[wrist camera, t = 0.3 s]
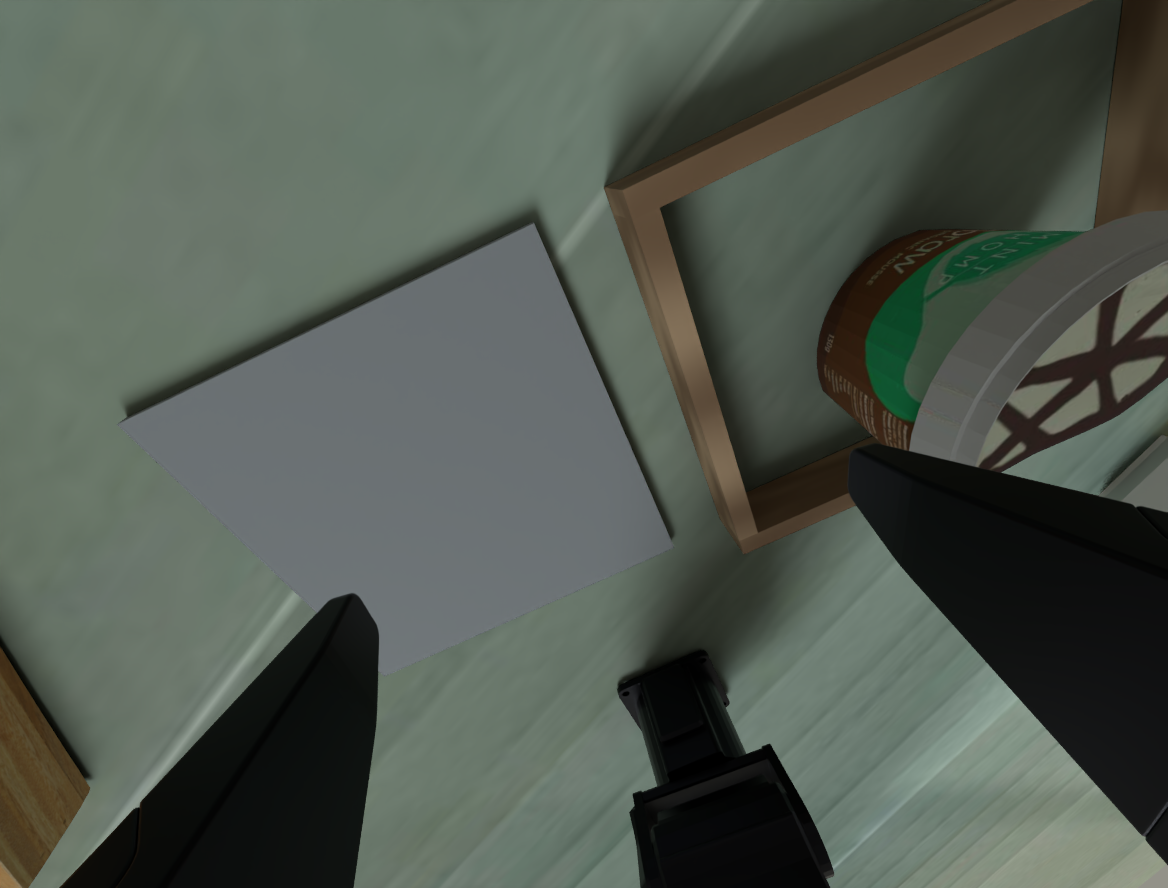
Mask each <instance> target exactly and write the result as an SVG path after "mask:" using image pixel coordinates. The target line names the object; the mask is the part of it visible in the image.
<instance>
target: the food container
mask: <svg viewBox="0 0 1168 888" xmlns="http://www.w3.org/2000/svg"><path fill="white" fill-rule="evenodd" d="M817 369H818V376H819V380H820V383H821V386H822V389H823V391H824V392H825V393H826V394H827V395H828V396H829V397H831V398H832V399H833V400H834V401H835V402H836V403H837V404H838V405H839V406H841V407H842V408H843V409H844V410H845V411H846V412H847V413H848V414H849V415H851V416H852V417H853V418H854V419H855V420H856V421H857V422H858V423H859V424H861V425H862V426H863V427H864V428H865V429H866V430H867V431H868V432H869V433H871V434H872V435H873V436H874V437H875V438H876V439H877V440H878V441H879V442H881V443H882V444H883V445H886V446H891V447H895V448H899V449H903V450H907V451H912V452H916V453H920V454H924V455H928V456H933V457H937V458H941V459H945V460H949V461H954V462H958V463H962V464H966V465H970V466H975V467H979V468H983V469H987V470H992V471H996V472H1000V473H1001V472H1003V471H1004V470H1006V469H1008V468H1010V467H1012V466H1013V465H1015V464H1017V463H1019V462H1021V461H1022V460H1024V459H1026V458H1028V457H1029V456H1031V455H1033V454H1035V453H1037V452H1040V451H1042V450H1044V449H1047V448H1049V447H1051V446H1053V445H1056V444H1058V443H1060V442H1063V441H1065V440H1067V439H1070V438H1072V437H1074V436H1076V435H1079V434H1081V433H1083V432H1086V431H1088V430H1090V429H1092V428H1094V427H1096V426H1098V425H1100V424H1103V423H1105V422H1107V421H1109V420H1111V419H1113V418H1115V417H1116V416H1118V415H1120V414H1121V413H1123V412H1124V411H1125V410H1127V409H1128V408H1129V407H1131V406H1132V405H1134V404H1135V403H1136V402H1138V401H1139V400H1141V399H1142V398H1143V397H1144V396H1146V395H1147V394H1148V393H1149V392H1150V391H1152V390H1153V389H1154V388H1155V387H1157V386H1158V385H1159V384H1160V383H1162V382H1163V381H1164V380H1165V379H1166V378H1168V210H1164V211H1151V212H1143V213H1139V214H1135V215H1131V216H1127V217H1123V218H1120V219H1116V220H1113V221H1111V222H1108V223H1106V224H1104V225H1101V226H1099V227H1096V228H1094V229H1092V230H1089V231H1087V232H1072V231H1022V230H971V229H938V230H919V231H916V232H914V233H911V234H908V235H906V236H903V237H900V238H898V239H895V240H893V241H892V242H890V243H888V244H887V245H885V246H883V247H882V248H880V249H879V250H877V251H876V252H875V253H874V254H872V255H871V256H870V257H868V258H867V259H866V260H865V261H864V262H863V263H862V264H861V265H860V266H859V267H858V268H857V269H856V270H855V271H854V272H853V273H852V274H851V276H850V277H849V278H848V279H847V281H846V282H845V283H844V284H843V286H842V287H841V289H840V290H839V292H838V294H837V295H836V297H835V298H834V300H833V302H832V304H831V306H830V308H829V310H828V312H827V315H826V317H825V319H824V322H823V326H822V329H821V332H820V336H819V342H818V348H817Z"/></svg>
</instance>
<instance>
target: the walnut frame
mask: <svg viewBox="0 0 1168 888" xmlns="http://www.w3.org/2000/svg"><path fill="white" fill-rule="evenodd" d="M1091 1H1093V0H991V1H989V2H987V3H984V4H982V5H980V6H978V7H976V8H974V9H972V10H970V11H968V12H966V13H964V14H962V15H960V16H958V17H955V18H953V19H951V20H949V21H947V22H945V23H943V24H941V25H939V26H937V27H935V28H933V29H931V30H929V31H926V32H924V33H922V34H920V35H918V36H916V37H914V38H912V39H910V40H908V41H906V42H904V43H902V44H900V45H897V46H895V47H893V48H891V49H889V50H887V51H885V52H883V53H881V54H879V55H877V56H875V57H873V58H871V59H868V60H866V61H864V62H862V63H860V64H858V65H856V66H854V67H852V68H850V69H848V70H846V71H844V72H842V73H839V74H837V75H835V76H833V77H831V78H829V79H827V80H825V81H823V82H821V83H819V84H817V85H815V86H813V87H810V88H808V89H806V90H804V91H802V92H800V93H798V94H796V95H794V96H792V97H790V98H788V99H786V100H784V101H781V102H779V103H777V104H775V105H773V106H771V107H769V108H767V109H765V110H763V111H761V112H759V113H757V114H755V115H752V116H750V117H748V118H746V119H744V120H742V121H740V122H738V123H736V124H734V125H732V126H730V127H728V128H726V129H723V130H721V131H719V132H717V133H715V134H713V135H711V136H709V137H707V138H705V139H703V140H701V141H699V142H697V143H694V144H692V145H690V146H688V147H686V148H684V149H682V150H680V151H678V152H676V153H674V154H672V155H670V156H668V157H665V158H663V159H661V160H659V161H657V162H655V163H653V164H651V165H649V166H647V167H645V168H643V169H641V170H639V171H636V172H634V173H632V174H630V175H628V176H626V177H624V178H622V179H620V180H618V181H616V182H614V183H612V184H610V185H607V186H605V187H604V189H605V192H606V195H607V198H608V201H609V204H610V207H611V209H612V212H613V215H614V218H615V221H616V224H617V226H618V229H619V232H620V235H621V238H622V241H623V244H624V246H625V249H626V252H627V255H628V258H629V261H630V264H631V266H632V269H633V272H634V275H635V278H636V281H637V284H638V286H639V289H640V292H641V295H642V298H643V301H644V304H645V306H646V309H647V312H648V315H649V318H650V321H651V324H652V326H653V329H654V332H655V335H656V338H657V341H658V344H659V346H660V349H661V352H662V355H663V358H664V361H665V364H666V366H667V369H668V372H669V375H670V378H671V381H672V384H673V386H674V389H675V392H676V395H677V398H678V401H679V403H680V406H681V409H682V412H683V415H684V418H685V421H686V423H687V426H688V429H689V432H690V435H691V438H692V441H693V443H694V446H695V449H696V452H697V455H698V458H699V461H700V463H701V466H702V469H703V472H704V475H705V478H706V481H707V483H708V486H709V489H710V492H711V495H712V498H713V501H714V503H715V506H716V509H717V512H718V515H719V518H720V520H721V521H722V523H723V524H724V526H725V527H726V529H727V530H728V532H729V533H730V535H731V536H732V538H733V539H734V541H735V542H736V544H737V545H738V546H739V548H740V549H741V551H742V552H743V554H746V553H749V552H751V551H753V550H755V549H758V548H760V547H762V546H764V545H767V544H769V543H771V542H774V541H776V540H778V539H780V538H783V537H785V536H787V535H789V534H792V533H794V532H796V531H799V530H801V529H803V528H805V527H808V526H810V525H812V524H814V523H817V522H819V521H821V520H824V519H826V518H828V517H830V516H833V515H835V514H837V513H839V512H842V511H844V510H846V509H849V508H851V507H853V506H855V505H856V504H855V503H854V502H853V500H852V499H851V497H850V495H849V492H848V486H847V483H848V466H849V454H850V452H851V451H852V450H853V449H854V448H857V447H861V446H864V445H868V444H871V443H878V444H882V443H881V442H879V441H878V440H877V439H876V438H875V437H874V436H872V437H870V438H868V439H865V440H863V441H861V442H859V443H856V444H854V445H852V446H850V447H847V448H845V449H843V450H841V451H838V452H836V453H834V454H832V455H829V456H827V457H825V458H823V459H820V460H818V461H816V462H814V463H811V464H809V465H807V466H805V467H802V468H800V469H798V470H796V471H794V472H791V473H789V474H787V475H785V476H782V477H780V478H778V479H776V480H773V481H771V482H769V483H767V484H764V485H762V486H760V487H758V488H755V489H753V490H751V491H749V492H745V488H744V485H743V482H742V478H741V475H740V472H739V468H738V465H737V462H736V459H735V455H734V452H733V449H732V445H731V442H730V439H729V435H728V432H727V429H726V426H725V422H724V419H723V416H722V412H721V409H720V406H719V402H718V399H717V396H716V392H715V389H714V386H713V383H712V379H711V376H710V373H709V369H708V366H707V363H706V359H705V356H704V353H703V349H702V346H701V343H700V340H699V336H698V333H697V330H696V326H695V323H694V320H693V316H692V313H691V310H690V306H689V303H688V300H687V297H686V293H685V290H684V287H683V283H682V280H681V277H680V273H679V270H678V267H677V263H676V260H675V257H674V254H673V250H672V247H671V244H670V240H669V237H668V234H667V230H666V227H665V224H664V221H663V217H662V214H661V211H660V207H662V206H664V205H666V204H668V203H670V202H673V201H675V200H677V199H679V198H681V197H683V196H685V195H687V194H689V193H691V192H693V191H696V190H698V189H700V188H702V187H704V186H706V185H708V184H710V183H712V182H714V181H716V180H719V179H721V178H723V177H725V176H727V175H729V174H731V173H733V172H735V171H737V170H739V169H742V168H744V167H746V166H748V165H750V164H752V163H754V162H756V161H758V160H760V159H762V158H765V157H767V156H769V155H771V154H773V153H775V152H777V151H779V150H781V149H783V148H785V147H788V146H790V145H792V144H794V143H796V142H798V141H800V140H802V139H804V138H806V137H808V136H811V135H813V134H815V133H817V132H819V131H821V130H823V129H825V128H827V127H829V126H832V125H834V124H836V123H838V122H840V121H842V120H844V119H846V118H848V117H850V116H852V115H855V114H857V113H859V112H861V111H863V110H865V109H867V108H869V107H871V106H873V105H875V104H878V103H880V102H882V101H884V100H886V99H888V98H890V97H892V96H894V95H896V94H898V93H901V92H903V91H905V90H907V89H909V88H911V87H913V86H915V85H917V84H919V83H921V82H924V81H926V80H928V79H930V78H932V77H934V76H936V75H938V74H940V73H942V72H944V71H947V70H949V69H951V68H953V67H955V66H957V65H959V64H961V63H963V62H965V61H967V60H970V59H972V58H974V57H976V56H978V55H980V54H982V53H984V52H986V51H988V50H990V49H993V48H995V47H997V46H999V45H1001V44H1003V43H1005V42H1007V41H1009V40H1011V39H1013V38H1016V37H1018V36H1020V35H1022V34H1024V33H1026V32H1028V31H1030V30H1032V29H1034V28H1036V27H1039V26H1041V25H1043V24H1045V23H1047V22H1049V21H1051V20H1053V19H1055V18H1057V17H1059V16H1062V15H1064V14H1066V13H1068V12H1070V11H1072V10H1074V9H1076V8H1078V7H1080V6H1082V5H1085V4H1087V3H1089V2H1091ZM1164 210H1168V0H1123V6H1122V14H1121V22H1120V29H1119V37H1118V45H1117V53H1116V61H1115V69H1114V77H1113V84H1112V92H1111V100H1110V108H1109V116H1108V124H1107V132H1106V140H1105V147H1104V155H1103V163H1102V171H1101V179H1100V187H1099V195H1098V202H1097V210H1096V218H1095V226H1094V228H1096V227H1099V226H1101V225H1104V224H1106V223H1108V222H1111V221H1113V220H1116V219H1120V218H1123V217H1127V216H1131V215H1135V214H1139V213H1143V212H1151V211H1164ZM882 445H883V444H882Z"/></svg>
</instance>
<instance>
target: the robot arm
mask: <svg viewBox="0 0 1168 888" xmlns="http://www.w3.org/2000/svg"><path fill="white" fill-rule="evenodd" d="M847 486H848V492H849V495H850V497H851V499H852V500H853V502H854V503H855V504H856V506H857V507H858V509H859V510H860V511H861V513H862V514H863V515H864V517H865V518H866V520H867V521H868V522H869V524H870V525H871V526H872V528H873V529H874V531H875V532H876V533H877V535H878V536H879V538H880V539H881V540H882V542H883V543H884V544H885V546H886V547H887V549H888V550H889V551H890V553H891V554H892V555H893V557H894V558H895V559H896V561H897V562H898V563H899V564H900V566H901V567H902V568H903V569H904V570H905V572H906V573H907V574H908V575H909V576H910V577H911V579H912V580H913V581H914V582H915V583H916V584H917V585H918V586H919V587H920V589H921V590H922V591H923V592H924V593H925V594H926V595H927V596H928V598H929V599H930V600H931V601H932V602H933V603H934V604H935V605H936V606H937V608H938V609H939V610H940V611H941V612H942V613H943V614H944V615H945V617H946V618H947V619H948V620H949V621H950V622H951V623H952V624H953V625H954V627H955V628H956V629H957V630H958V631H959V632H960V633H961V634H962V635H963V637H964V638H965V639H966V640H967V641H968V642H969V643H970V644H971V646H972V647H973V648H974V649H975V650H976V651H977V652H978V653H979V654H980V656H981V657H982V658H983V659H984V660H985V661H986V662H987V663H988V664H989V666H990V667H991V668H992V669H993V670H994V671H995V672H996V673H997V675H998V676H999V677H1000V678H1001V679H1002V680H1003V681H1004V682H1005V683H1006V685H1007V686H1008V687H1009V688H1010V689H1011V690H1012V691H1013V692H1014V694H1015V695H1016V696H1017V697H1018V698H1019V699H1020V700H1021V701H1022V702H1023V704H1024V705H1025V706H1026V707H1027V708H1028V709H1029V710H1030V711H1031V712H1032V714H1033V715H1034V716H1035V717H1036V718H1037V719H1038V720H1039V721H1040V723H1041V724H1042V725H1043V726H1044V727H1045V728H1046V729H1047V730H1048V731H1049V733H1050V734H1051V735H1052V736H1053V737H1054V738H1055V739H1056V740H1057V741H1058V743H1059V744H1060V745H1061V746H1062V747H1063V748H1064V749H1065V750H1066V752H1067V753H1068V754H1069V755H1070V756H1071V757H1072V758H1073V759H1074V760H1075V762H1076V763H1077V764H1078V765H1079V766H1080V767H1081V768H1082V769H1083V770H1084V772H1085V773H1086V774H1087V775H1088V776H1089V777H1090V778H1091V779H1092V781H1093V782H1094V783H1095V784H1096V785H1097V786H1098V787H1099V788H1100V789H1101V791H1102V792H1103V793H1104V794H1105V795H1106V796H1107V797H1108V798H1109V800H1110V801H1111V802H1112V803H1113V804H1114V805H1115V806H1116V807H1117V808H1118V810H1119V811H1120V812H1121V813H1122V814H1123V815H1124V816H1125V817H1126V818H1127V820H1128V821H1129V822H1130V823H1131V824H1132V825H1133V826H1134V827H1135V829H1136V830H1137V831H1138V832H1139V833H1140V834H1141V835H1142V836H1145V837H1146V838H1145V839H1146V841H1147V843H1148V844H1149V845H1150V846H1151V847H1152V848H1153V849H1154V850H1155V851H1156V853H1157V854H1158V855H1159V856H1160V857H1161V858H1162V859H1163V860H1164V862H1165V863H1166V864H1167V865H1168V512H1164V511H1160V510H1156V509H1152V508H1148V507H1144V506H1137V507H1135V506H1134V505H1133V504H1130V503H1126V502H1122V501H1118V500H1114V499H1109V498H1105V497H1101V496H1097V495H1093V494H1088V493H1084V492H1080V491H1076V490H1072V489H1067V488H1063V487H1059V486H1055V485H1050V484H1046V483H1042V482H1038V481H1034V480H1029V479H1025V478H1021V477H1017V476H1013V475H1008V474H1004V473H1000V472H996V471H992V470H987V469H983V468H979V467H975V466H970V465H966V464H962V463H958V462H954V461H949V460H945V459H941V458H937V457H933V456H928V455H924V454H920V453H916V452H912V451H907V450H903V449H899V448H895V447H891V446H886V445H882V444H878V443H871V444H868V445H864V446H861V447H857V448H854V449H853V450H852V451H851V452H850V454H849V466H848V483H847ZM378 665H379V631H378V627H377V624H376V622H375V621H374V619H373V617H372V616H371V614H370V613H369V611H368V609H367V608H366V606H365V605H364V603H363V601H362V600H361V598H360V597H359V596H358V595H357V594H355V593H349V594H346V595H342V596H339V597H335V598H332V599H330V600H329V601H328V602H327V603H326V604H325V605H324V606H323V607H322V608H321V609H320V610H319V611H318V612H317V613H316V614H315V616H314V617H313V618H312V619H311V620H310V621H309V622H308V623H307V624H306V625H305V626H304V627H303V628H302V629H301V631H300V632H299V633H298V634H297V635H296V636H295V637H294V638H293V639H292V640H291V641H290V642H289V643H288V645H287V646H286V647H285V648H284V649H283V650H282V651H281V652H280V653H279V654H278V655H277V656H276V657H275V658H274V660H273V661H272V662H271V663H270V664H269V665H268V666H267V667H266V668H265V669H264V670H263V671H262V672H261V673H260V675H259V676H258V677H257V678H256V679H255V680H254V681H253V682H252V683H251V684H250V685H249V686H248V687H247V688H246V690H245V691H244V692H243V693H242V694H241V695H240V696H239V697H238V698H237V699H236V700H235V701H234V702H233V703H232V705H231V706H230V707H229V708H228V709H227V710H226V711H225V712H224V713H223V714H222V715H221V716H220V717H219V718H218V720H217V721H216V722H215V723H214V724H213V725H212V726H211V727H210V728H209V729H208V730H207V731H206V732H205V733H204V735H203V736H202V737H201V738H200V739H199V740H198V741H197V742H196V743H195V744H194V745H193V746H192V747H191V748H190V750H189V751H188V752H187V753H186V754H185V755H184V756H183V757H182V758H181V759H180V760H179V761H178V762H177V763H176V765H175V766H174V767H173V768H172V769H171V770H170V771H169V772H168V773H167V774H166V775H165V776H164V777H163V778H162V780H161V781H160V782H159V783H158V784H157V785H156V786H155V787H154V788H153V789H152V790H151V791H150V792H149V793H148V795H147V796H146V797H145V798H144V799H143V800H142V801H141V802H140V808H139V807H138V808H135V809H133V810H132V811H131V813H130V814H129V815H128V816H127V817H126V818H125V819H124V820H123V821H122V822H121V823H120V824H119V826H118V827H117V828H116V829H115V830H114V831H113V832H112V833H111V834H110V835H109V836H108V837H107V838H106V839H105V841H104V842H103V843H102V844H101V845H100V846H99V847H98V848H97V849H96V850H95V851H94V852H93V853H92V854H91V855H90V856H89V857H88V858H87V859H86V860H85V861H84V863H83V864H82V865H81V866H80V867H79V868H78V869H77V870H76V871H75V872H74V873H73V874H72V875H71V876H70V877H69V878H68V879H67V880H66V881H65V882H64V883H63V884H62V886H61V887H60V888H353V887H354V880H355V873H356V866H357V859H358V852H359V845H360V838H361V831H362V824H363V817H364V810H365V802H366V795H367V788H368V781H369V774H370V767H371V760H372V753H373V746H374V739H375V730H376V720H377V698H378ZM617 691H618V695H619V698H620V699H621V701H622V702H623V704H624V705H625V707H626V708H627V710H628V711H629V713H630V714H631V716H632V717H633V719H634V720H635V722H636V723H637V725H638V726H639V728H640V729H641V731H642V733H643V737H644V740H645V744H646V747H647V751H648V755H649V758H650V762H651V765H652V769H653V772H654V776H655V779H656V783H657V787H655V788H652V789H649V790H647V791H644V792H642V791H638V792H636V793H633V799H634V805H635V806H634V807H633V809H632V810H631V811H630V812H629V813H630V817H631V821H632V826H633V830H634V835H635V840H636V846H637V855H638V865H639V876H640V887H641V888H830V886H829V884H828V882H827V880H826V879H827V878H830V877H833V876H834V871H833V868H832V864H831V862H830V859H829V856H828V854H827V851H826V849H825V846H824V844H823V842H822V839H821V837H820V835H819V833H818V830H817V828H816V826H815V824H814V822H813V820H812V818H811V816H810V814H809V812H808V810H807V808H806V806H805V805H804V803H803V801H802V799H801V797H800V796H799V794H798V792H797V790H796V789H795V787H794V785H793V783H792V782H791V780H790V778H789V776H788V774H787V773H786V771H785V769H784V767H783V766H782V764H781V762H780V760H779V759H778V757H777V755H776V753H775V751H774V750H773V748H772V746H771V744H767V745H764V746H762V748H761V749H759V750H756V751H753V752H750V753H748V754H746V752H745V750H744V748H743V745H742V743H741V741H740V739H739V736H738V734H737V732H736V730H735V728H734V725H733V723H732V721H731V719H730V716H729V714H728V712H727V710H726V708H725V707H727V706H728V705H729V700H728V697H727V695H726V693H725V691H724V689H723V686H722V684H721V682H720V680H719V678H718V675H717V673H716V671H715V669H714V667H713V664H712V662H711V660H710V658H709V656H708V654H707V652H706V651H698V652H696V653H694V654H691V655H689V656H687V657H684V658H682V659H680V660H677V661H675V662H673V663H670V664H668V665H666V666H663V667H661V668H659V669H656V670H654V671H652V672H650V673H647V674H645V675H643V676H640V677H638V678H636V679H633V680H631V681H629V682H626V683H624V684H622V685H620V686H619V687H618V689H617Z"/></svg>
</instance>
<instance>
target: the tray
mask: <svg viewBox="0 0 1168 888" xmlns="http://www.w3.org/2000/svg"><path fill="white" fill-rule="evenodd" d="M89 790H90V787H89V786H88V784H87V782H86V781H85V779H84V777H83V776H82V774H81V773H80V771H79V770H78V768H77V767H76V765H75V764H74V762H73V761H72V759H71V758H70V756H69V755H68V753H67V752H66V750H65V748H64V747H63V745H62V744H61V742H60V741H59V739H58V738H57V736H56V734H55V733H54V731H53V730H52V728H51V727H50V725H49V724H48V722H47V720H46V719H45V717H44V716H43V714H42V713H41V711H40V710H39V708H38V706H37V705H36V703H35V702H34V700H33V698H32V697H31V695H30V693H29V692H28V690H27V689H26V687H25V686H24V684H23V682H22V681H21V679H20V678H19V676H18V674H17V673H16V671H15V669H14V668H13V666H12V665H11V663H10V661H9V660H8V658H7V656H6V655H5V653H4V652H3V650H2V649H1V647H0V888H28V887H29V886H30V884H31V883H32V882H33V880H34V879H35V877H36V876H37V874H38V873H39V871H40V870H41V868H42V867H43V865H44V864H45V862H46V861H47V859H48V857H49V856H50V854H51V853H52V851H53V850H54V848H55V846H56V845H57V843H58V842H59V840H60V839H61V837H62V836H63V834H64V833H65V831H66V829H67V828H68V826H69V825H70V823H71V822H72V820H73V818H74V817H75V815H76V814H77V812H78V810H79V809H80V807H81V806H82V804H83V802H84V800H85V798H86V796H87V795H88V793H89Z"/></svg>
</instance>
